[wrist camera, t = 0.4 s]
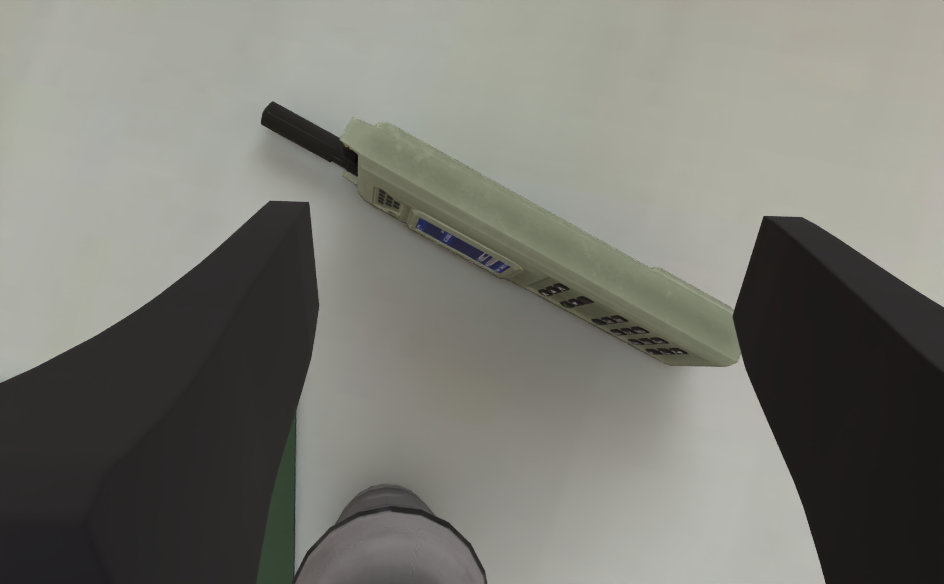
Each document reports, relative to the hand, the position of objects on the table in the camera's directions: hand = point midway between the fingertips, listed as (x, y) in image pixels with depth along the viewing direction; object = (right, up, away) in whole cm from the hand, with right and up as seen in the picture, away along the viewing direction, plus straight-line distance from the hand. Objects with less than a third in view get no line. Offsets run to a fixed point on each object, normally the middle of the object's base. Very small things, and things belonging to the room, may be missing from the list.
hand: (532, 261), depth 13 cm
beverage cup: (-5, -12, +27) cm, 30 cm away
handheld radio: (0, +2, +29) cm, 29 cm away
